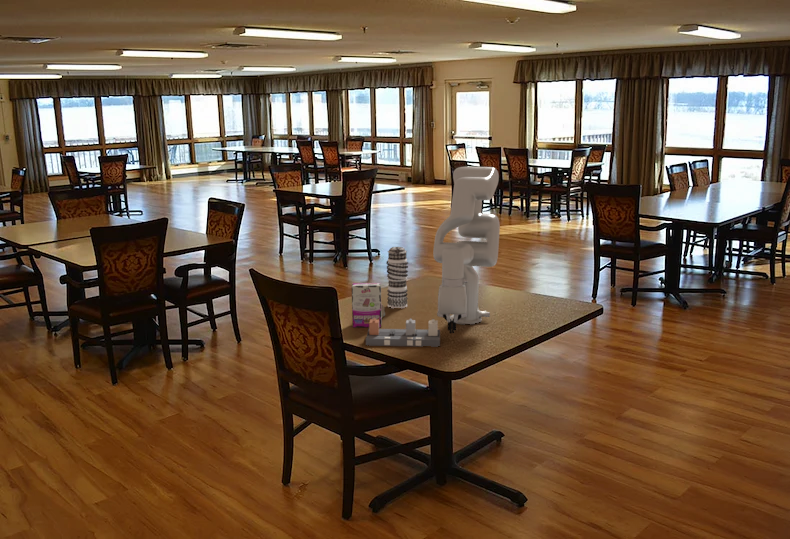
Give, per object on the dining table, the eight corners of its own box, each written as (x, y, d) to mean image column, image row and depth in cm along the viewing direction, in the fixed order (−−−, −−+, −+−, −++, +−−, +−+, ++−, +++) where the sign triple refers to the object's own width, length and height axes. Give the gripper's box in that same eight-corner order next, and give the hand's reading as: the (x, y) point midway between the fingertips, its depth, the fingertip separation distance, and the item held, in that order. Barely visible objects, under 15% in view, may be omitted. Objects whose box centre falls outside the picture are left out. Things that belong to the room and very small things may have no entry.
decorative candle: (395, 310, 300) (395, 250, 295) (382, 305, 308) (381, 247, 302) (412, 306, 306) (412, 248, 301) (398, 302, 313) (398, 245, 308)
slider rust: (379, 331, 263) (379, 317, 261) (378, 334, 259) (378, 321, 258) (370, 331, 263) (370, 317, 262) (369, 334, 259) (369, 320, 258)
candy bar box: (381, 323, 282) (381, 282, 278) (381, 327, 277) (381, 285, 273) (352, 323, 282) (352, 282, 278) (352, 327, 277) (351, 285, 273)
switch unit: (439, 336, 266) (440, 327, 265) (439, 346, 254) (440, 337, 253) (369, 335, 267) (369, 326, 267) (365, 345, 255) (365, 336, 255)
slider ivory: (437, 332, 261) (437, 318, 260) (437, 335, 257) (437, 322, 256) (428, 332, 261) (428, 318, 260) (428, 335, 258) (428, 321, 256)
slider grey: (415, 332, 262) (415, 318, 261) (414, 335, 258) (414, 321, 257) (406, 332, 262) (406, 318, 261) (405, 335, 258) (405, 321, 257)
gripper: (473, 280, 258) (472, 329, 262) (431, 279, 259) (430, 328, 263) (474, 284, 251) (473, 335, 255) (431, 284, 252) (430, 335, 256)
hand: (451, 332), depth 259 cm, fingers closed
